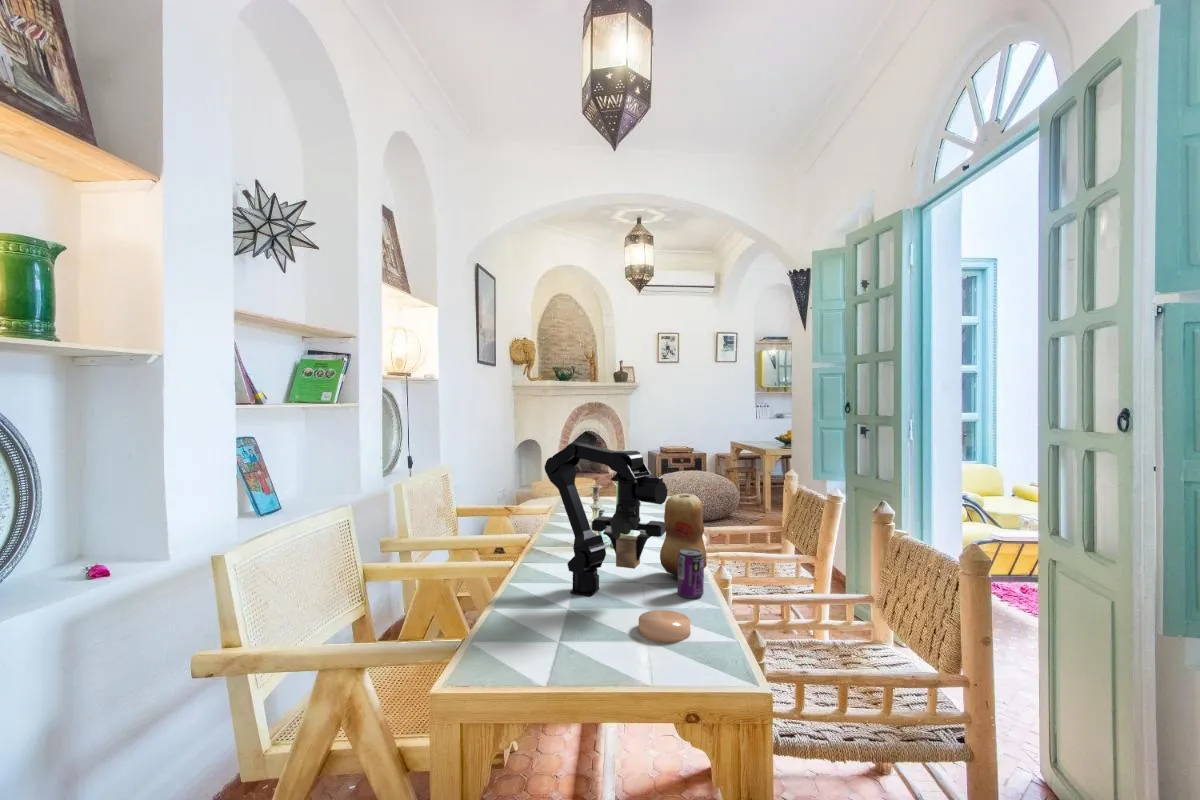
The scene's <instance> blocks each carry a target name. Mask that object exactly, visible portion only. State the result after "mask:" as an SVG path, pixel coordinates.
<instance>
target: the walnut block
mask: <svg viewBox="0 0 1200 800" xmlns="http://www.w3.org/2000/svg"><path fill="white" fill-rule="evenodd" d="M637 536H638V535H637ZM637 536H635V535H634V536H633V535H627V534H626V535H625V534H622V535H620V537H619V538H618V539H616V553H615V567H618V568H624V569H625V568H626V569H636V568H637V567H638V566H639V565H640V563H641V558H640V559H639V560H637V545H638V539H637Z"/></svg>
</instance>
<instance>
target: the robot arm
mask: <svg viewBox="0 0 1200 800" xmlns="http://www.w3.org/2000/svg"><path fill="white" fill-rule="evenodd" d="M581 460H585V461H590V462H593V463H596V464H601V465H604V466H606V467H608V468H610V470H611V471H613V472H615V473H616V474H615V475H613V476H612V477H611V479H610V481H612V482H617V504H616V505H615V506H616V507H615V512H614V514H612V517H611V516H601V515H599V516H597V517H596V518H594V519H593V520H592V521H591V525H590V523H589V519H588V518H587V515H586V511H585V509H584V506H583V502H582V500H581V496H580V494H579V492H578V489H577V486H576V478H577V477H576V475H577V471H576V470H577V469H576V467H577V466H578V465H579V463H581ZM544 471H545V472H544V473H546V476H547V478H548V480H549V481H550V483H552V485H554V487H555V488H557V490H558V492H559V496H560V498H561V501H562V504H563V507H564V509H565V512H566V515H567V518H568V521H569V524H570V527H571V530H572V533H573V535H574V536H573V537H574V541H573V545H572V546H573V547H572V549H573V554H574V556H573V557H572V558H571V559H570V560H569V561H568V562H567V565H566V566H567V568H568V572H570V573H571V572H572V589H571V590H570V591H569V592H570V594H574V595H581V596H590V597H591V596H593V595H595V594H596V593H597V592H598V590H600V575H599V574H598V569H599V568H602V566H603V562H604V561H605V558H606V556H607V551H606V549H607V547H606V546H607V545H605V542H604V538H603V536H602V535H601V534H596V533H594V532H595V531H596V532H603V533H602V534H603V535H604V536H606V537H608V539H609V540H610V542H611V544H612V546H613V547H612V548H613V550H614V552H615V554H616V539H618V538H619V537H620V536H621V534H622V535H626V536H627V535H629V534H630V533H631V531H639V534H638V535H637V539H638V545H637V560H639V559H640V560H641V556H642V553H643V551H644V548H645V545H646V543H647V541H648V539H650V538H651V537H654V538H655V537H656V538H661V537H662V536H663V535H664V534H666V525H665V523H664V521H658V520H650V521H648V522H647V523H641V517H640V511H641V510H640V509H641V508H640V507H641V503H642V502H643V503H649V504H655V505H664V503H666V501H667V498H668V492H669V491H668V488H667V485H666V483H665V482H664V478H663V476H653V475H652V473H651V471H650V469H649V468H648V466H647V465H646V463H645V461H644V457H643V455H642V453H641V452H639V451H637V450H612V449H609V448H603V447H600V446H595V445H591V444H587V443H584V442H582V441H580V442H579V441H578V442H577V441H576V442H570V443H568V445H567V446H565V447H564V448H563V449H561V450H560V451H558V452H556V453H555V454H553V456H551V457H548V458H547V460H546V461H545V464H544Z"/></svg>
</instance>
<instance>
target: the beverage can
mask: <svg viewBox="0 0 1200 800" xmlns="http://www.w3.org/2000/svg"><path fill="white" fill-rule="evenodd" d="M704 570H705V568H704V558H703V556H702V551H700V550H697V549H682V550H680V554H679V556H678V578H677V585H676V586H677V587H676V588H677V594H679V595H680V596H682V597H683V596H684V598H687V599H696V597H697V598H699V597H700V596H703V595H704V592H705V589H704V586H705V582H704V580H705V579H704V576H705V575H704V573H705V572H704Z"/></svg>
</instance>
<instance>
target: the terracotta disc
mask: <svg viewBox="0 0 1200 800" xmlns="http://www.w3.org/2000/svg"><path fill="white" fill-rule="evenodd" d="M638 633H639V635H640V636H641V637H643V638H644V639H647V640H649V641H652V642H657V643H664V644H665V643H669V644H671V643H678V642H682V641H684V640H687V639H688V638H689V637H690V635H691V619H690V618H689V617H688V616H687V615H685V614H684V613H681V612H679V611H673V610H668V609H656V610H649V611H645V612H643V613H641V614H640V615H639V616H638Z"/></svg>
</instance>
